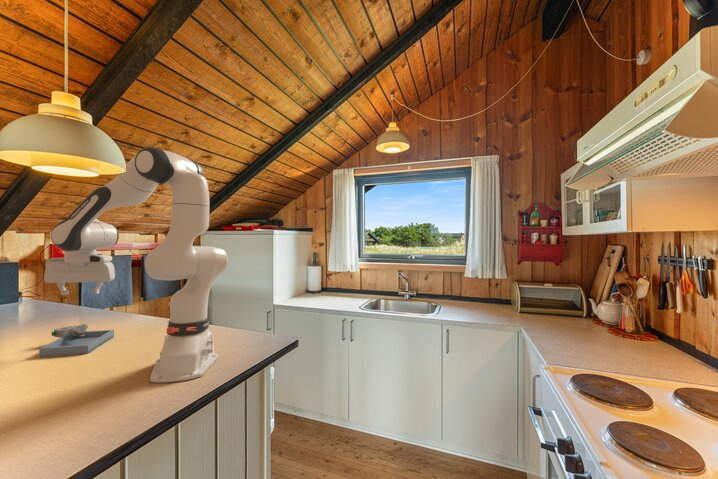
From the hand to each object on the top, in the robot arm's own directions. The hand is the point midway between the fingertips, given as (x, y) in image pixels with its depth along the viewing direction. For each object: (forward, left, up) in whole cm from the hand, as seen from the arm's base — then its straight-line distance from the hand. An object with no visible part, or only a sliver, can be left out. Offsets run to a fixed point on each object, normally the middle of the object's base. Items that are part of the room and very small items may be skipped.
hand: (80, 294), depth 110 cm
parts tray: (0, 0, -20) cm, 20 cm away
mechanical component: (+1, 0, -15) cm, 15 cm away
